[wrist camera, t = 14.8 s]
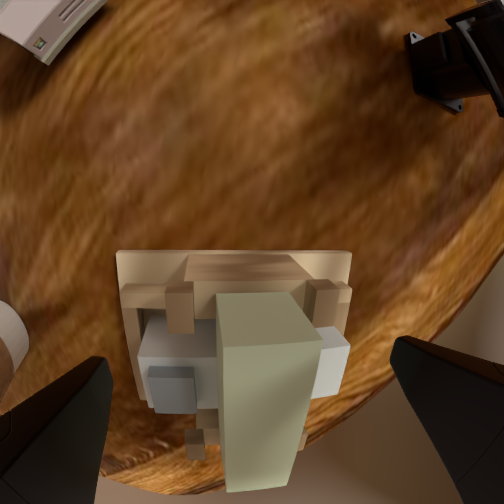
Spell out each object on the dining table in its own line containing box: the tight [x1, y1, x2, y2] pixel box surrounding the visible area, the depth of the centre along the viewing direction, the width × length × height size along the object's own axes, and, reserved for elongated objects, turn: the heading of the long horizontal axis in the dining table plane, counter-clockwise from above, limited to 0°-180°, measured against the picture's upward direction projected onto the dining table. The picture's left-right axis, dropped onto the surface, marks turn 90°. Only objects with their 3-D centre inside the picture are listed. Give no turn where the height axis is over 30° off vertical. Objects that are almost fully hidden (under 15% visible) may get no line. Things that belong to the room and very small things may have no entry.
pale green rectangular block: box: [216, 292, 323, 492], centre depth 13 cm, size 4×11×4 cm, turn 177°
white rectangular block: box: [137, 314, 351, 414], centre depth 17 cm, size 12×4×6 cm, turn 87°
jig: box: [116, 250, 352, 460], centre depth 17 cm, size 16×13×7 cm
